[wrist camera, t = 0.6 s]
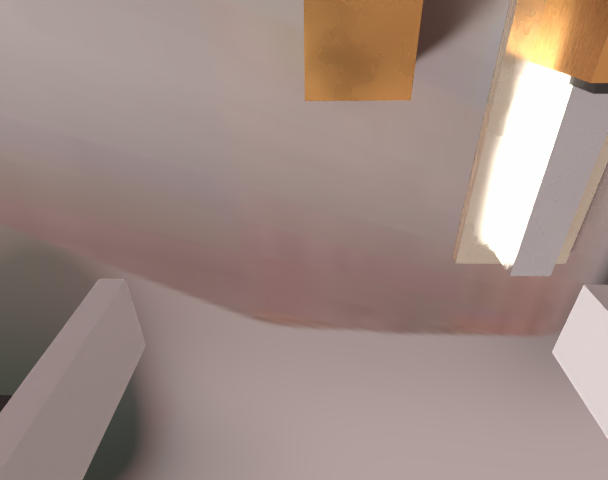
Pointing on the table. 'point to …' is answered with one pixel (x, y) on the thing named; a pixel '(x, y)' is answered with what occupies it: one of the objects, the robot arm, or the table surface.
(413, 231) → the table surface
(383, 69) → the orange cube
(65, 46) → the table surface
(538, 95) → the rail
